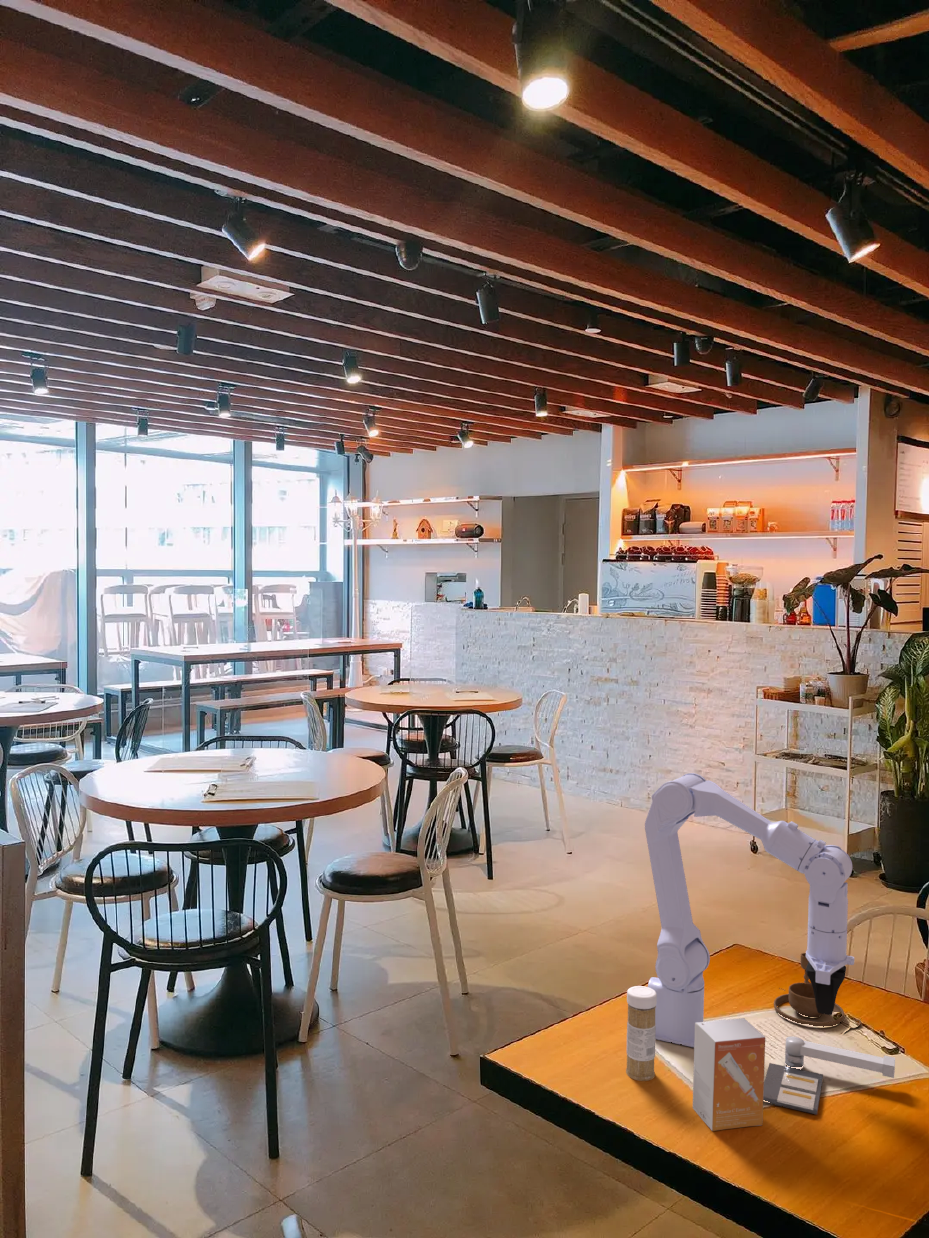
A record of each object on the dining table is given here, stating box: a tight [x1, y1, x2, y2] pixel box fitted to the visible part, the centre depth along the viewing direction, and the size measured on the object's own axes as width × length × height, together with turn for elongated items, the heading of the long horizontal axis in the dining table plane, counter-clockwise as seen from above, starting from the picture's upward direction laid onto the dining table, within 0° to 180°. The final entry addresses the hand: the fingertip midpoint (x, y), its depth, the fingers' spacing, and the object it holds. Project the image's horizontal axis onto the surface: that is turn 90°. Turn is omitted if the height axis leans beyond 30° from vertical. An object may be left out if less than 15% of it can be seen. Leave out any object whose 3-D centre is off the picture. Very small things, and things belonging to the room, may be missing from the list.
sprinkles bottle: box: [625, 985, 657, 1082], centre depth 149 cm, size 5×5×14 cm
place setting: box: [773, 952, 862, 1027], centre depth 175 cm, size 18×20×6 cm
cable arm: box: [785, 1035, 896, 1079], centre depth 150 cm, size 16×3×2 cm, turn 63°
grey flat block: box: [763, 1051, 824, 1116], centre depth 147 cm, size 8×15×2 cm, turn 155°
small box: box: [692, 1017, 766, 1132], centre depth 138 cm, size 8×6×13 cm
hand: (824, 1012), depth 149 cm, fingers closed
